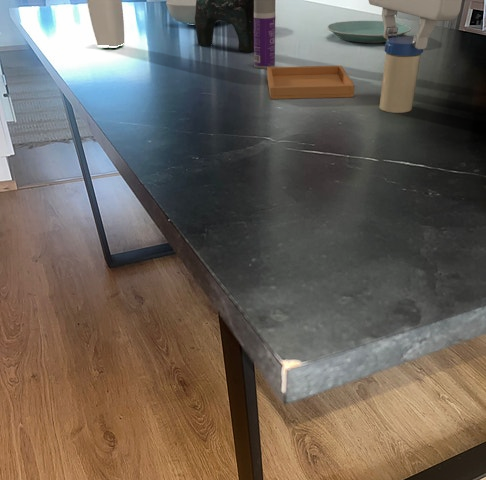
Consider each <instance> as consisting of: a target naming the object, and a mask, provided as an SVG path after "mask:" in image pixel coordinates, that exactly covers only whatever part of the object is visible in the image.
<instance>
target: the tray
mask: <svg viewBox="0 0 486 480" xmlns="http://www.w3.org/2000/svg"><path fill="white" fill-rule="evenodd" d="M266 79H267V86H268V93H269V99H270V100H285V99H287V100H289V99H290V100H291V99H328V98H329V99H330V98H331V99H332V98H334V99H335V98H354V96H355V84H354V82H353V81H352V79H351V77H350V76H349V74H348V73H347V71H346V70H345V68H344V67H343V66H342V65H308V66H307V65H306V66H304V65H303V66H274V67H267V69H266Z"/></svg>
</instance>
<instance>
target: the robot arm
mask: <svg viewBox="0 0 486 480" xmlns="http://www.w3.org/2000/svg"><path fill="white" fill-rule="evenodd" d="M462 2H463V0H368V4H369V5H371V6H374V7H378V8H382V10H381V18H382V21H383V24H384V35H383V37H384V38H386V39H388V38H392V37H397V32H398V27H396V23H397V22H396V16H397V15H398V13H402V14H406V15H410V16H415V17H419V23H418V25H419V26H420V27H419V29H418V31H417V34H416V35H412V37H413V43H412V47H413V48H416V49H423V50H424V49H426V48H427V47H428V41H429V37H430V35H431V34H432V32H433V31H434V29H435V28H436V26H437V22H447V21H449V22H450V21H454V20H455V19H456V18H457V16H459V14H460V13H461V8H462Z"/></svg>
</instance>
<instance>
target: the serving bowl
mask: <svg viewBox="0 0 486 480" xmlns="http://www.w3.org/2000/svg"><path fill="white" fill-rule="evenodd" d="M165 3H166V7H167V11H168V12H169V14H170V16H171V18H173V19H174V20H175V21H177V22H178V23H181V22H182V24H185V23H189V24H195V11H196V0H166V2H165ZM218 21H220V22H222V21H221V20H217V21H216V22H217V23H219V22H218Z"/></svg>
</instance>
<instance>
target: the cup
mask: <svg viewBox="0 0 486 480" xmlns="http://www.w3.org/2000/svg"><path fill="white" fill-rule="evenodd" d="M86 2H87V3H86V4H87V9H88V13H89V19H90V22H91V23H90V24H91V27H92V30H93V34H94V38H95V41H96V43H97V46H98V45H109V46H118V45H121V44H123V43H124V44H125V20H124V11H123V10H124V9H123V1H122V0H86ZM124 44H123V45H124Z"/></svg>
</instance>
